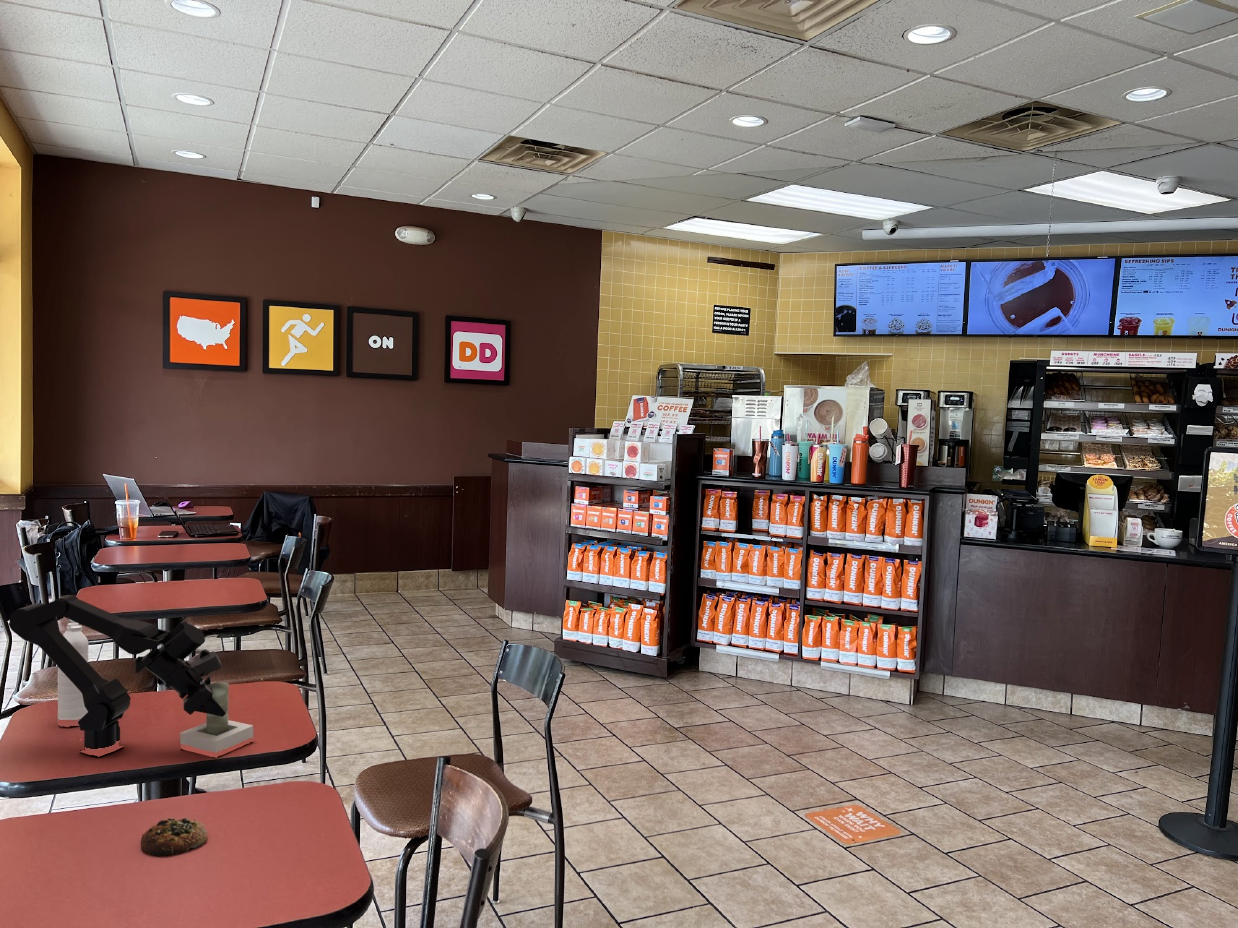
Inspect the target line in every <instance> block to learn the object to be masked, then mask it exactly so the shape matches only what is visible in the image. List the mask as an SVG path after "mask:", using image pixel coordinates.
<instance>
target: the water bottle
mask: <svg viewBox="0 0 1238 928" xmlns="http://www.w3.org/2000/svg"><path fill="white" fill-rule="evenodd" d="M82 631H83V625H80V624H79V623H77V622H74V621H73V622H69V623H67V626H66V631H65V632H64V633H63V634H62V635H63V636H64V637H65V638H66V639H67V640H68V641H69V642H70V643H71V645H72V646H73V647H74V648H75V649H76V650H77V651H78V652H79V653H80V654H81V656H82V657H83V658H84V659H85V660H86V661H87V662H88V663H89V640H88V638H87V636H86V635H85V634H84V633H83V632H82ZM57 707H58V708H57V720H58V719H59V720H78V719H81V718H82V717H83V716H84V715H85V714H86V713H88V711H87V709H86V708H85V706H84V701H83V696H82V693H81V692H80V691H79V689H78V688H77V687H76V686H75V685H74V684H73V683H72V682H71V681H70V680H69V678H68V677H67V676H66V675H65V674H64V673H63V672H62V671H61V670H60V669H59V668H58V667H57Z"/></svg>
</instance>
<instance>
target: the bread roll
mask: <svg viewBox="0 0 1238 928" xmlns="http://www.w3.org/2000/svg"><path fill="white" fill-rule="evenodd" d="M207 833H208V832H207V829H206V826H205V825H204V823H202V822H200V821H198V819H193V820H190V818H186V817H184V818H181V819H175V818H167V819H162V820H160V821H158V822H157V823H156V824H154V825H153V826H151V827H150V828H149V829H147V830H146V831H145V832H143V833H142V834H141V838H140V846H141V849H142V850H143V852H145V853H146V854H148V855H151V856H154V857H158V858H159V857H160V858H161V857H169V856H171V855H172V856H174V855H175V856H176V855H178V854H179V855H180V854H183V853H186V852H189V850H190V849H195V848H198V847H199V846H201V845H203V844H204V843H205V842H206V840H207V839H208V838H207Z"/></svg>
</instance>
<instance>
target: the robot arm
mask: <svg viewBox="0 0 1238 928" xmlns="http://www.w3.org/2000/svg"><path fill="white" fill-rule="evenodd" d="M59 617H64V618H66V619H67V620H70V621H73V623H74V622H76V623H79V625H80V626H82V627H83V626H84V627H85V628H88V629H90V630H93V631H94V632H97V633H98V634H103V636H104V635H105V636H107V637H108V638H109V639H111V640H112V641H113V643H114V644H115V645H116V646H117V647H118V648H120V649H121V650H122V651H124V652H126V653H128V654H129V655H133V656H134V655H135V656H137V655H139V654H142V653H144V652H146V651H149V650H150V651H149V652H148V653H146V654H145V655H143V656H137V658H136V659H135V661H134V663H135V671H134V672H135V673H136V674H138V673H140V672H141V671H143V670H144V669H147V670H148V671H149V672H150V673H152V674H153V675H154V676H155V677H157V678H158V679H160V681H162V682H163V683H164V686H165V687H166V688H167V689H169V688H171V689H172V690H173V691H175V692H176V693H177V694H178V697H179V698H180V699H181V700H182V702H183V703H182V705H183V707H182V708H183V711H185V713H187V714H188V715H189V716H191V715H193V714H194V712H196V713H198V712H199V713H201V714H202V713H204V714H206V715H207V714H212V715H217V716H221V717H223V716H224V715H225V714H226V712H225V711H224V710H223V708H222V707H221V706H220V705H219V704H218V703H217V701H216V700H215V699H214V698H213V697H212V695H213V690H212V687H211V688H209V687H208V686H207V685H209V684H211V683H212V681H211V680H212V679H211V676H208V675H209V674H211V673H213V672H214V671H216V672H217V671H219V670H220V669H222V667H223V666H222V662H221V660H220V657H218V654H217V653H216V651H213V650H212V651H210V650H208V649H206V648H203V649H202V650H200V651H199V654H198V658H196V659H195V661H193V662H189V661H188V660H185V659H186V658H188V657H189V656H190V655H191V654H192V653H194V652H195V651H196V650H197V649H198V648H199V647H201V646H202V645H203V644H205V643H206V642H205V641H206V637H205V634H204V633H203V631H202V630H201V629H200V628H198V627H196V626H195V625H193V624H189V623H188V622H187V621H186V620H183V621H181V622H179V623H178V624H177V625H176V626H175V627H174V628H173V630H171V631H169V630H165V629H161V628H158V626H156V625H155V624H153V623H150V622H146V621H141V620H137V619H126V618H122V617H120V616H118V615H115V614H114V613H111V612H109V611H107V610H104V609H102V608H100V607H97V606H96V605H93V604H90V603H88V602H86V601H84V600H82V599H79V598H78V597H77V596H76V595H72V594H67V595H64V596H61V597H58V598H56V599H54V600H53V601H50V602H48V603H42V602H41V603H40V602H37V603H32V604H30V605H27V606H24V607H21V608H18V609H16V610H14V611H13V612H12V613H11V614H10V616H9V619H8V621H9V623H8V626H9V628H10V630H11V631H12V632H13V633H14V634H16V635H17V636H18V637H19V638H21V639H22V640H24V641H26V642H28V643H31V644H33V645H36V646H37V647H39V648H40V650H42V651H43V652H44V653H45V654H46V656H48V657H47V658H49V659H50V660H51V661H52V662H53V663H54V665H56V667H57V669H58V668H59V669H60V670H61V671H62V672H63V673H64V674H65V675H66V676H67V677H68V678H69V680H70V681H71V682H72V683H73V684H74V685H75V686H76V687H77V688H78V689H79V691H80V692H81V693H82V696H83V701H84V706H85V708H86V709H87V711H88V713H86V714H85V715H84V716H83V717H82V718H81V719H80V720H79V721H78V725H79V727H78V728H79V730H80V731H83V732H84V733H83V735H84V737H83V738H84V741H83V745H84V747H86V748H90V749H98V748H105V747H109V746H112V745H114V744H115V743H116V741H119V740H120V741H121V726H120V722H119V720H120V719H123V717H124V714H125V712H127V711H128V710H129V708H130V705H131V695H130V694H129V693H128V692H129V691H130V690H129V689H127V688H126V687H124V686H123V685H122V683H121V681H120V680H119V679H118V678H113V679H112V680H107V679H105V678H103V677H102V676H101V675H100V674H99V673H98V672H97V671H96V670H95V668H94V667H93V666H92V665H91V664H90V663H89V661H88V662H87V661H86V660H85V659H84V658H83V657H82V656H81V654H80V653H79V652H78V651H77V650H76V649H75V648H74V647H73V646H72V645H71V643H70V642H69V641H68V640H67V639H66V638H65V637H64V636H63V634H62V632H61V630H60V626H59V622H58V621H59V620H58V618H59ZM158 646H161V647H159V648H158ZM207 676H208V677H207ZM204 677H207V678H206V679H204ZM84 747H83V748H84Z"/></svg>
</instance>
